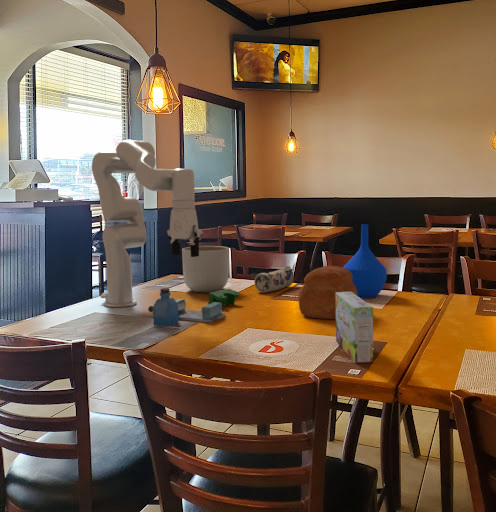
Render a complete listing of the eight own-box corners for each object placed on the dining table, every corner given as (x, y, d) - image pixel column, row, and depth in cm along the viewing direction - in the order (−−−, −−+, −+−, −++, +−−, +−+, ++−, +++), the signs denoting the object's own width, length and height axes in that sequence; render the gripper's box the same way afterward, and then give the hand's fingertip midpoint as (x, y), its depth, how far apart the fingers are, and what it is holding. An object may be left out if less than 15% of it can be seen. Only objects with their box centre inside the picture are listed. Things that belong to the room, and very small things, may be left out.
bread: (295, 317, 198) (295, 270, 196) (315, 305, 217) (315, 262, 215) (343, 322, 190) (343, 273, 188) (360, 309, 209) (360, 264, 207)
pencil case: (279, 285, 262) (278, 264, 261) (294, 287, 257) (294, 266, 256) (253, 293, 244) (252, 270, 243) (269, 295, 240) (269, 272, 238)
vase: (392, 294, 238) (393, 223, 234) (377, 301, 222) (378, 226, 219) (351, 290, 248) (352, 222, 244) (334, 297, 232) (335, 225, 229)
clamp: (220, 319, 215) (217, 300, 210) (209, 313, 218) (206, 295, 213) (241, 303, 222) (239, 284, 217) (230, 297, 225) (228, 279, 220)
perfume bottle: (178, 322, 192) (177, 287, 191) (170, 326, 186) (169, 291, 185) (162, 321, 194) (161, 287, 193) (153, 325, 188) (152, 290, 187)
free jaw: (147, 313, 201) (146, 302, 201) (161, 308, 210) (161, 297, 209) (172, 315, 197) (172, 304, 196) (186, 310, 206) (185, 299, 205)
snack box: (333, 341, 166) (334, 291, 164) (352, 341, 166) (353, 291, 165) (353, 364, 145) (354, 306, 143) (374, 363, 146) (375, 306, 144)
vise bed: (161, 318, 198) (160, 304, 198) (177, 311, 208) (176, 298, 208) (211, 322, 190) (211, 308, 190) (225, 316, 200) (225, 302, 200)
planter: (228, 294, 241) (227, 250, 238) (180, 295, 241) (179, 251, 239) (230, 286, 261) (230, 245, 259) (186, 286, 262) (185, 246, 259)
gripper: (159, 205, 193) (160, 255, 195) (192, 205, 182) (194, 258, 184) (175, 205, 199) (177, 253, 201) (209, 205, 187) (210, 256, 189)
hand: (185, 255), depth 192 cm, fingers open, 9 cm apart
